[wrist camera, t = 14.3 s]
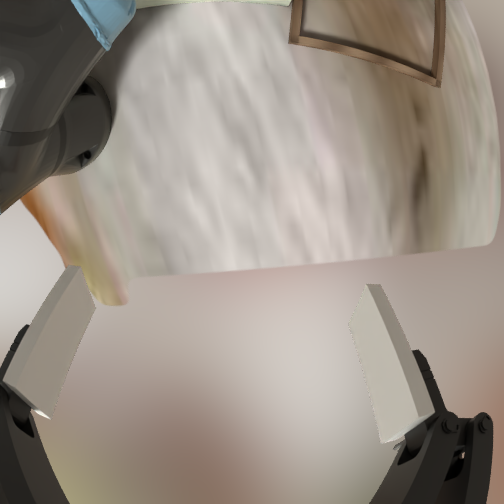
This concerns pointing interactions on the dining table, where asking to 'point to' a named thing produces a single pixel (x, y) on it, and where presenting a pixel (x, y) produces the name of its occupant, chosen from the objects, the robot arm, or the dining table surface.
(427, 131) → the dining table surface
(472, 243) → the dining table surface
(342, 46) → the frame
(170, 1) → the bin
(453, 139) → the dining table surface
